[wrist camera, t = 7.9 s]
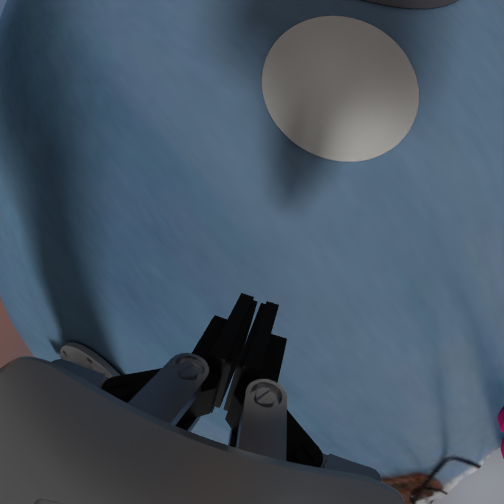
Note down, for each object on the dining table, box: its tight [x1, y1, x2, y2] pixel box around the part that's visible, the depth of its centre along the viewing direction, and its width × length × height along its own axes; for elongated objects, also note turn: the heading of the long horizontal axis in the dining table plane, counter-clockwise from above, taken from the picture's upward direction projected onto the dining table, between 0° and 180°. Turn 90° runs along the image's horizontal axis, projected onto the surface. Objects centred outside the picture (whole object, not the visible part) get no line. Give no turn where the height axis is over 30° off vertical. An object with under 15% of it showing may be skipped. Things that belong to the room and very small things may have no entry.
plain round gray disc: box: [262, 16, 419, 162], centre depth 12 cm, size 8×8×1 cm
